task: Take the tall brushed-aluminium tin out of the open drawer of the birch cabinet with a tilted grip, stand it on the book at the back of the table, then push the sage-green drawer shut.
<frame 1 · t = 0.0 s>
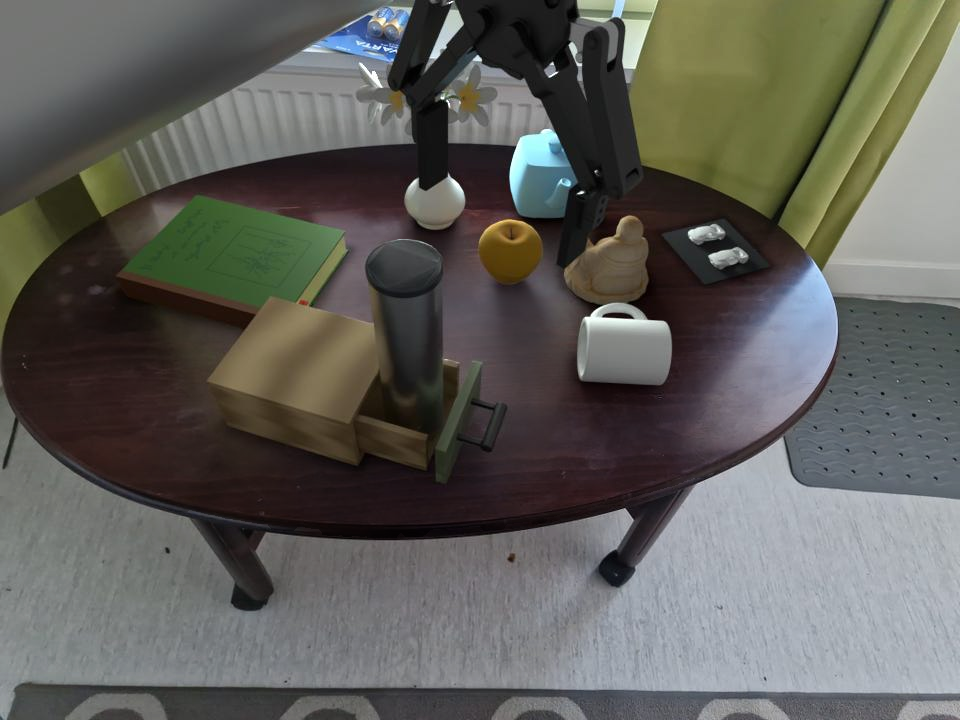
hand: (498, 218, 50), 33 cm above the table, tool pointing down, fingers open, 13 cm apart
drawer: (416, 408, 73), point 4 cm above the table, slide at 9.1 cm, touching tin
cabinet: (318, 400, 78), on the table
mug: (614, 360, 85), on the table
teapot: (548, 208, 104), on the table
apple: (508, 277, 94), on the table
flower vase: (430, 220, 101), on the table
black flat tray: (714, 250, 99), on the table
statue: (605, 280, 94), on the table
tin: (414, 419, 75), point 2 cm above the table, touching drawer
book: (244, 274, 92), on the table
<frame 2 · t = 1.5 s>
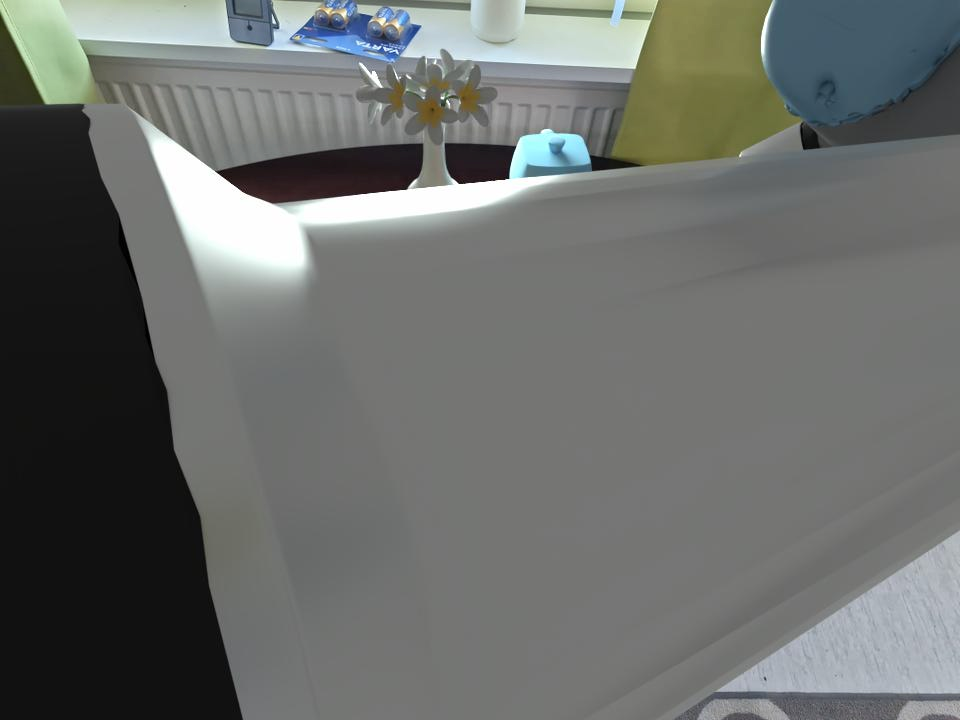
hand: (517, 311, 56), 24 cm above the table, tool tilted 45°, fingers open, 13 cm apart
nothing on the table moved.
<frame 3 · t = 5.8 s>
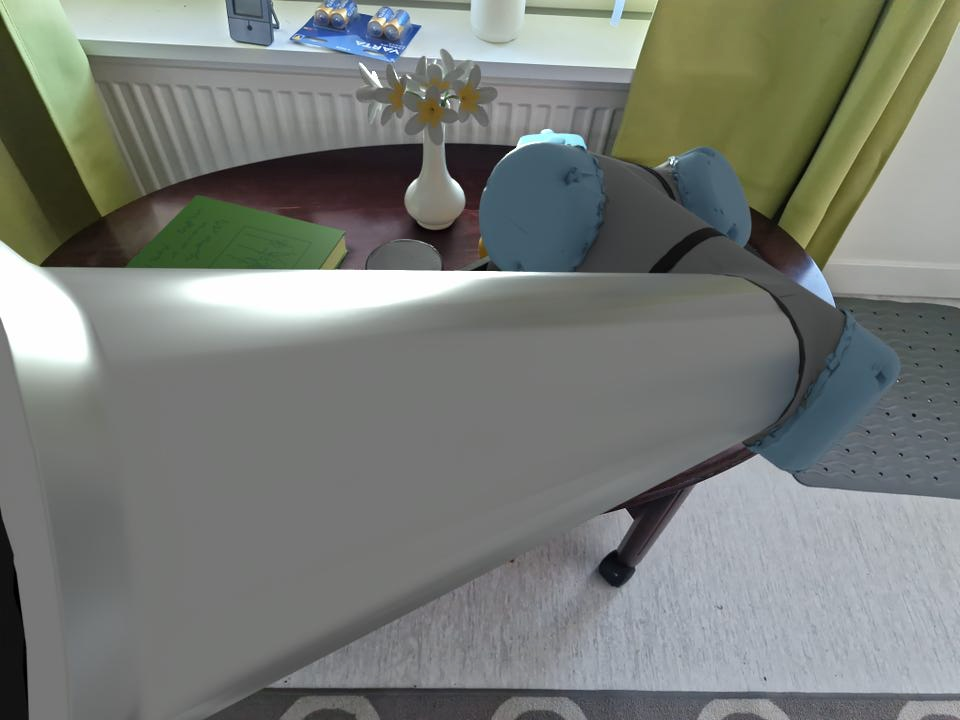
hand: (379, 354, 67), 12 cm above the table, tool tilted 45°, fingers closed on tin, 7 cm apart
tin: (414, 419, 75), point 2 cm above the table, touching drawer, gripper
everything else where it was.
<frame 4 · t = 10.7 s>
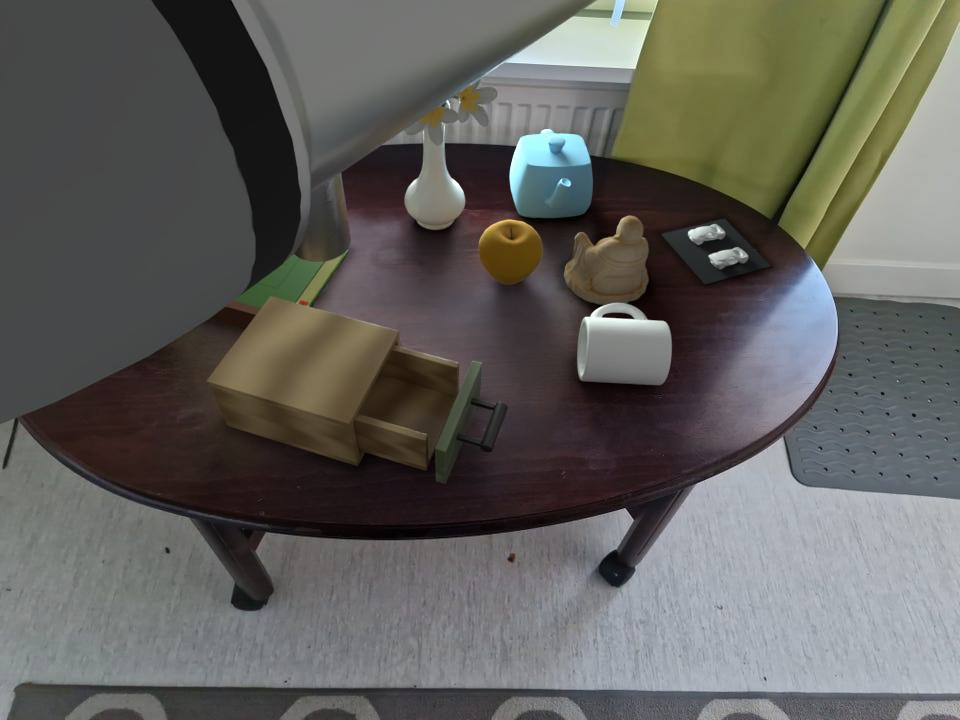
hand: (266, 157, 63), 28 cm above the table, tool tilted 45°, fingers closed on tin, 7 cm apart
drawer: (416, 408, 73), point 4 cm above the table, slide at 9.1 cm
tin: (320, 241, 71), point 17 cm above the table, touching gripper
everything else where it was.
when the fingers open (14 cm above the table, at t = 16.1 s): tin stays where it is, resting on book.
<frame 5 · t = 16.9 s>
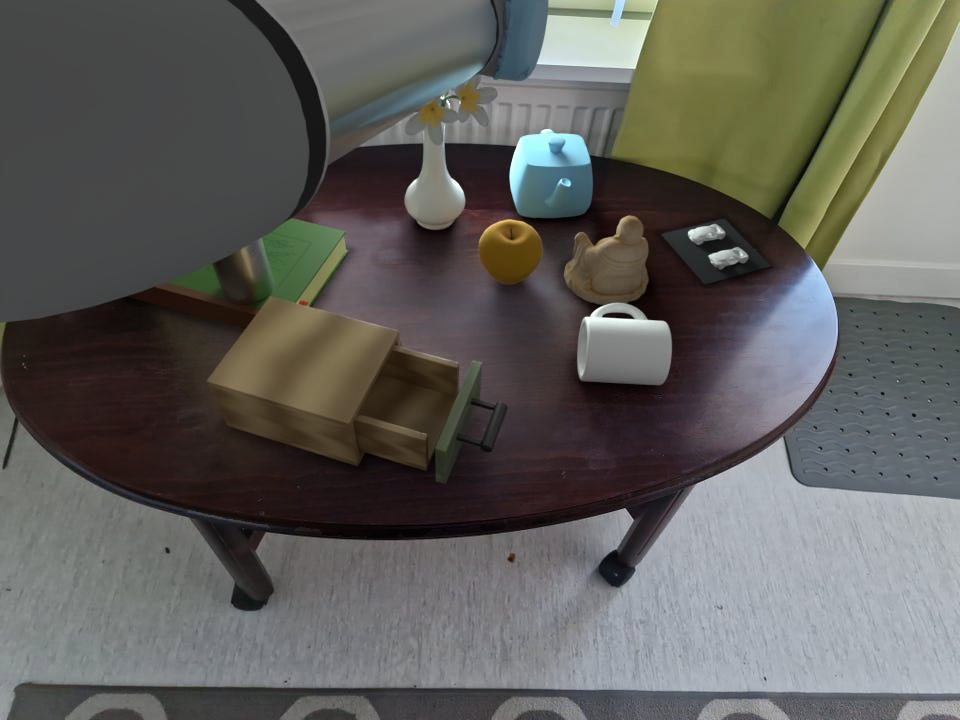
hand: (201, 213, 75), 16 cm above the table, tool tilted 45°, fingers open, 13 cm apart
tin: (248, 286, 85), point 4 cm above the table, touching book
book: (244, 274, 92), on the table, touching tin
everything else where it was.
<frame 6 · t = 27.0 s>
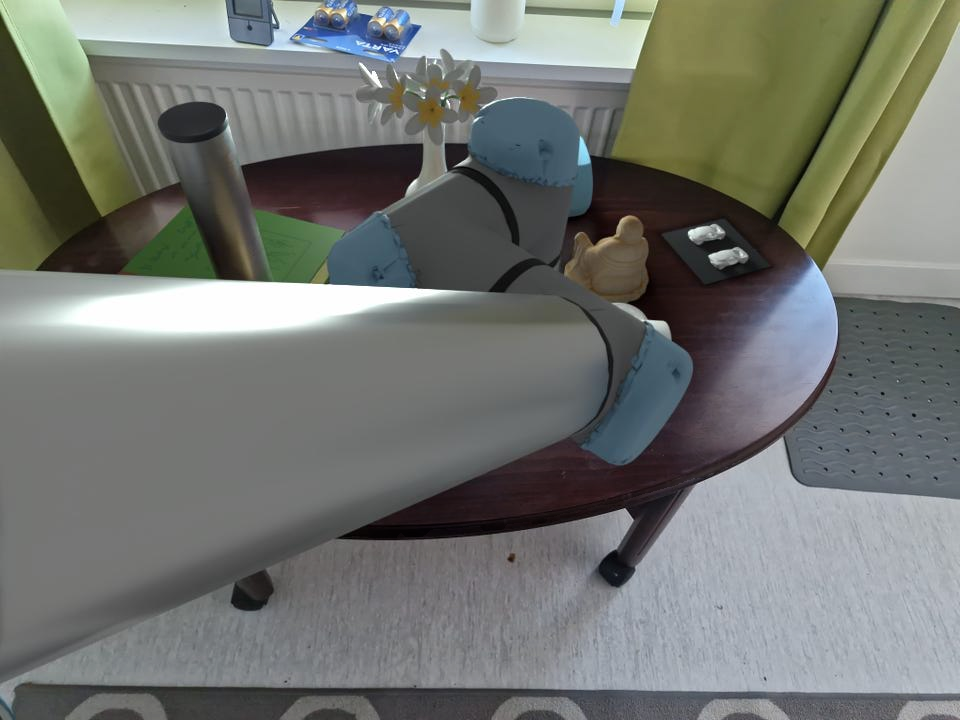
hand: (494, 438, 73), 3 cm above the table, tool pointing down, fingers closed
drawer: (406, 405, 73), point 4 cm above the table, slide at 7.9 cm, touching gripper
everything else where it was.
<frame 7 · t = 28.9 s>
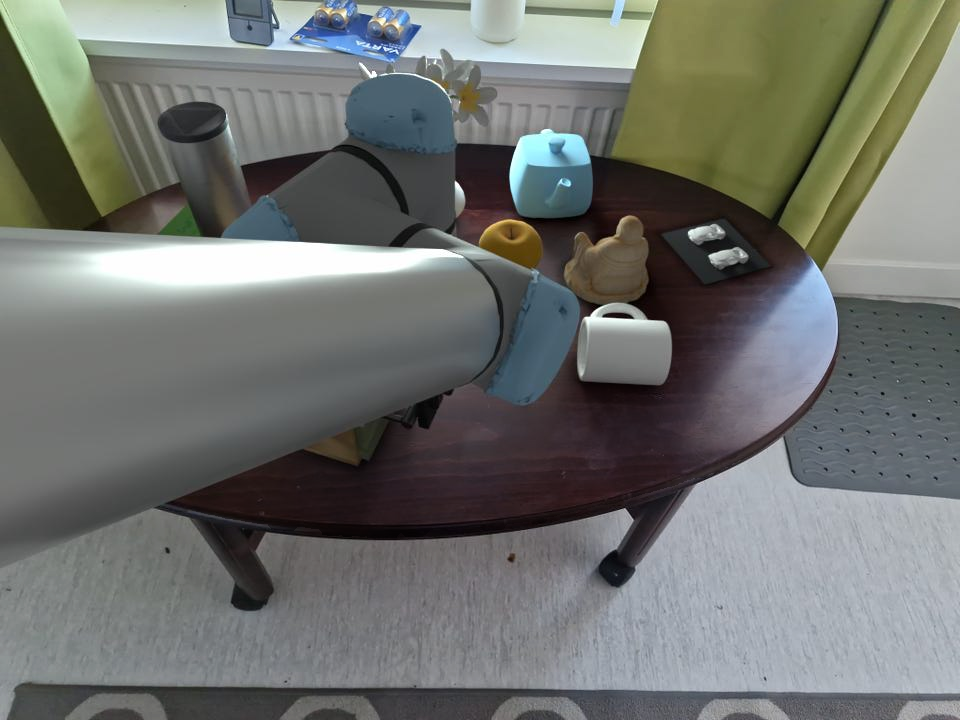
hand: (427, 418, 74), 3 cm above the table, tool pointing down, fingers closed
drawer: (342, 387, 74), point 4 cm above the table, slide at 0.0 cm, touching cabinet, gripper
everything else where it was.
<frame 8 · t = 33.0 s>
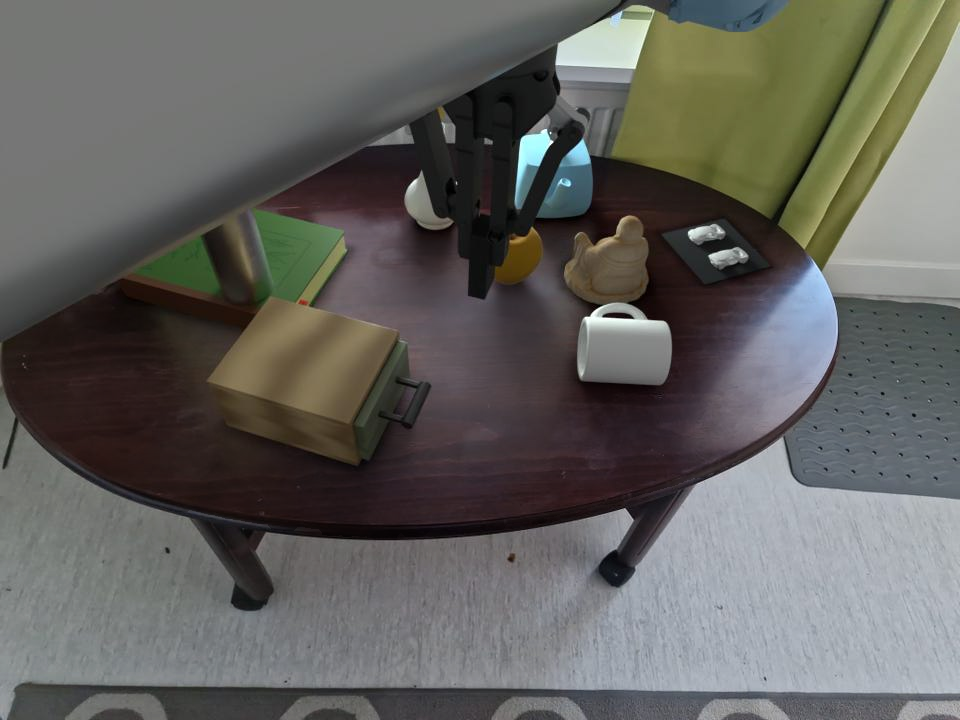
hand: (481, 287, 54), 26 cm above the table, tool pointing down, fingers closed
drawer: (342, 387, 74), point 4 cm above the table, slide at 0.0 cm, touching cabinet
everything else where it was.
at the end: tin inside the target area on the book (7.3 cm from its centre), point 4.0 cm above the book's base; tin tilted 0°; drawer slide at 0.0 cm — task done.
